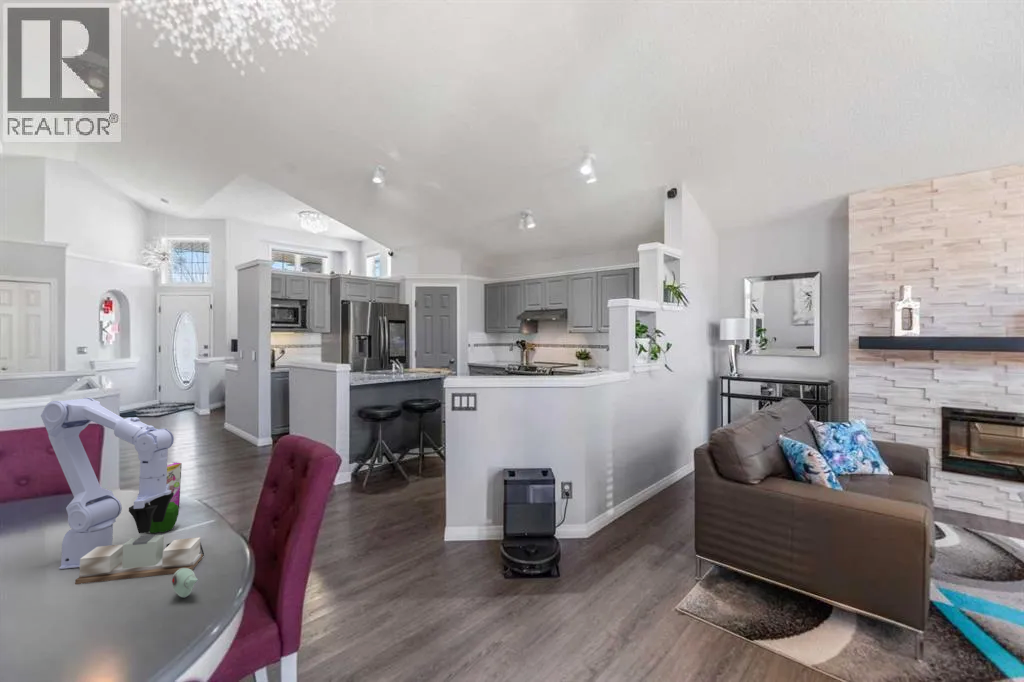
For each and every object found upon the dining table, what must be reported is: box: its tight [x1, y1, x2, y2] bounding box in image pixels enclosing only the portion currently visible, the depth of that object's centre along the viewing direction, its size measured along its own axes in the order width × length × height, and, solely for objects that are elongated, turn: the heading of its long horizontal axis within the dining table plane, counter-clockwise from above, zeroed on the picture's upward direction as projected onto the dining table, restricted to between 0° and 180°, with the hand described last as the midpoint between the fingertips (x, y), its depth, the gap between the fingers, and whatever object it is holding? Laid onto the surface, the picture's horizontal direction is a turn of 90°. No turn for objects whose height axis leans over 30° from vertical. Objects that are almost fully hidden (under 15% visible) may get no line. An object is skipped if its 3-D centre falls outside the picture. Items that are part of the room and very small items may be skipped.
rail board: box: [74, 537, 204, 585], centre depth 116 cm, size 24×8×6 cm, turn 107°
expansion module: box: [122, 533, 165, 569], centre depth 116 cm, size 4×7×6 cm, turn 107°
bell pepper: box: [148, 502, 180, 534], centre depth 141 cm, size 8×8×10 cm
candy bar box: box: [149, 462, 183, 508], centre depth 155 cm, size 11×5×16 cm, turn 172°
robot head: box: [171, 568, 199, 598], centre depth 103 cm, size 8×4×7 cm, turn 57°
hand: (151, 527), depth 120 cm, fingers open, 7 cm apart
